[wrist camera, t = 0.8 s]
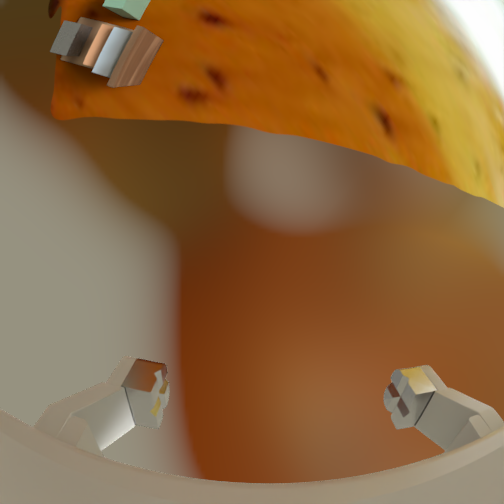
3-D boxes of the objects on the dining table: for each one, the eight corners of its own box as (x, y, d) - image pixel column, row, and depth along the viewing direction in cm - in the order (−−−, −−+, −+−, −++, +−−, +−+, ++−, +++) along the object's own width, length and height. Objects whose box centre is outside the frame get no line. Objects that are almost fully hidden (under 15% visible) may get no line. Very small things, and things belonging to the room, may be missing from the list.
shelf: (63, 59, 34) (20, 60, 22) (83, 17, 30) (45, 6, 18) (140, 84, 40) (112, 87, 29) (163, 40, 36) (143, 27, 25)
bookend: (63, 52, 32) (49, 51, 28) (76, 23, 29) (64, 20, 25) (78, 56, 33) (66, 55, 29) (93, 27, 31) (81, 23, 27)
